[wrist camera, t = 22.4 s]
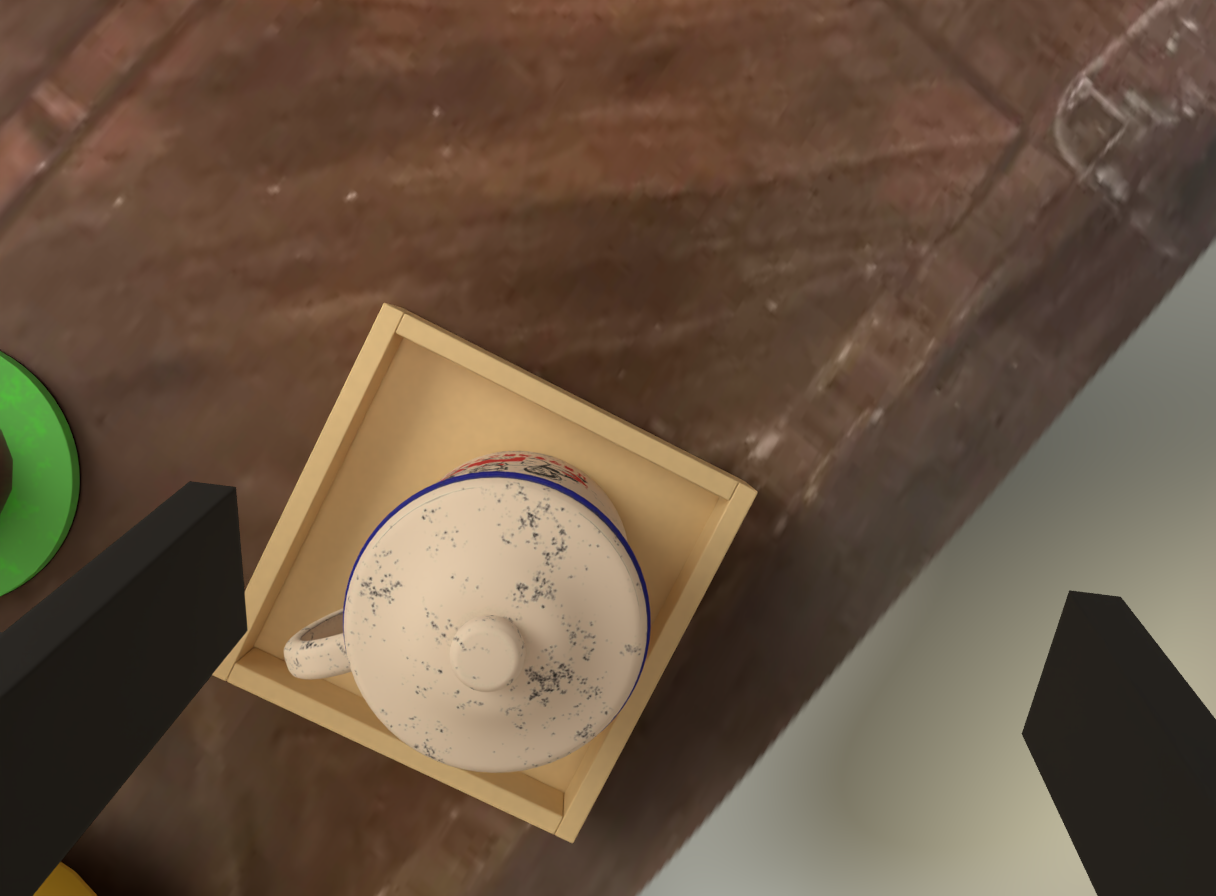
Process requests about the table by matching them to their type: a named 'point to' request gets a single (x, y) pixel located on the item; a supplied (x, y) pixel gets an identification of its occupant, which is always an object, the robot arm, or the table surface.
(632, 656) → the teacup with lid
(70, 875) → the vase
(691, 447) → the table surface
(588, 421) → the wooden tray
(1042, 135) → the table surface
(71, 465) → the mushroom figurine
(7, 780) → the robot arm
